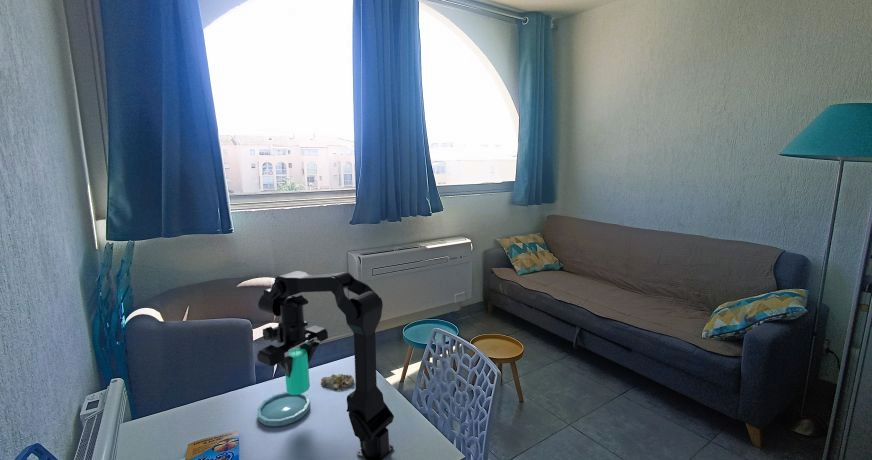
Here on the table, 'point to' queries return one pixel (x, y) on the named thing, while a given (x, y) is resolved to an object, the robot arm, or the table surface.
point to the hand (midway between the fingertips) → (297, 373)
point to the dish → (283, 409)
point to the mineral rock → (337, 381)
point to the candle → (298, 372)
